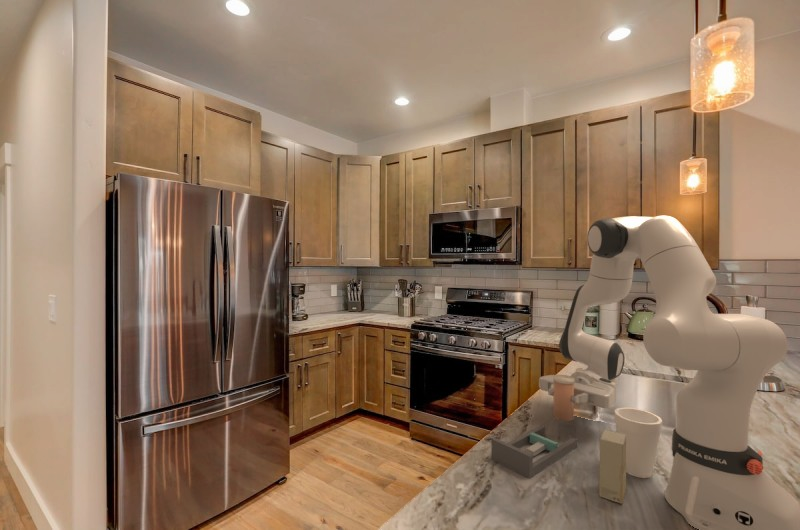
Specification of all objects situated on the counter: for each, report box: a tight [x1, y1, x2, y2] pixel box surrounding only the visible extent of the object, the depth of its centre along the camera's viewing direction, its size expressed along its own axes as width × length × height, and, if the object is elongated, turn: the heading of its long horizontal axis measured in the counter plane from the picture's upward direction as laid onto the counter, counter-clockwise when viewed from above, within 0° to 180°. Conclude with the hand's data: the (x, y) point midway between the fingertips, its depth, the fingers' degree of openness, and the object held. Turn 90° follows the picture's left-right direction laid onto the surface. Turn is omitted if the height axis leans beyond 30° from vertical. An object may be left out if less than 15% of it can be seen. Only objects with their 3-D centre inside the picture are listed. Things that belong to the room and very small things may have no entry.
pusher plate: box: [525, 432, 559, 457], centre depth 95 cm, size 7×7×2 cm
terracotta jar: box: [552, 374, 575, 422], centre depth 103 cm, size 5×5×11 cm
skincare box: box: [598, 428, 627, 505], centre depth 78 cm, size 6×4×12 cm
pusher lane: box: [490, 425, 579, 479], centre depth 94 cm, size 23×10×5 cm, turn 130°
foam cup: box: [613, 407, 663, 479], centre depth 87 cm, size 10×9×13 cm
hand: (561, 396), depth 102 cm, fingers closed on terracotta jar, 5 cm apart
